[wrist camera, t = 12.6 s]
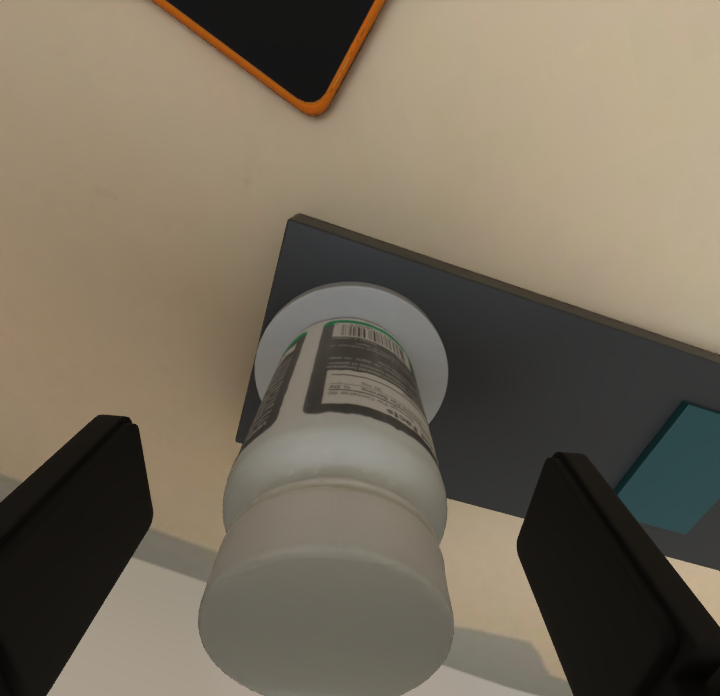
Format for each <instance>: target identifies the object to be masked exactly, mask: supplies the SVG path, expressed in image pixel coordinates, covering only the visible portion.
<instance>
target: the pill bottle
mask: <svg viewBox="0 0 720 696" xmlns="http://www.w3.org/2000/svg"><path fill="white" fill-rule="evenodd" d="M446 520H447V498H446V492H445V487H444V484H443V481H442V476H441V472H440V469H439V465H438V460H437V457H436V453H435V449H434V445H433V441H432V438H431V434H430V430H429V425H428V422H427V418H426V415H425V412H424V408H423V405H422V401H421V397H420V393H419V389H418V386H417V381H416V377H415V373H414V370H413V367H412V364H411V361H410V359H409V357H408V355H407V353H406V351H405V350H404V348H403V346H402V345H401V344H400V343H399V341H398V340H397V339H396V338H395V337H394V336H393V335H391V334H390V333H389V332H388V331H386V330H385V329H383V328H381V327H379V326H377V325H375V324H372V323H370V322H367V321H363V320H360V319H353V318H339V319H332V320H327V321H323V322H320V323H317V324H315V325H313V326H311V327H309V328H307V329H306V330H304V331H303V332H301V333H300V334H299V335H298V336H297V337H295V338H294V340H293V341H292V342H291V343H290V344H289V345H288V347H287V348H286V350H285V352H284V353H283V355H282V357H281V359H280V361H279V364H278V366H277V368H276V370H275V373H274V375H273V377H272V379H271V381H270V384H269V386H268V388H267V390H266V392H265V395H264V397H263V400H262V402H261V404H260V406H259V409H258V411H257V414H256V416H255V418H254V421H253V423H252V425H251V427H250V429H249V432H248V434H247V436H246V438H245V440H244V442H243V445H242V447H241V450H240V452H239V454H238V456H237V458H236V460H235V462H234V464H233V466H232V469H231V471H230V474H229V476H228V479H227V484H226V487H225V492H224V498H223V521H224V526H225V530H226V533H227V534H226V536H225V538H224V540H223V542H222V544H221V546H220V549H219V552H218V555H217V558H216V561H215V564H214V567H213V570H212V572H211V575H210V577H209V580H208V582H207V585H206V588H205V591H204V594H203V597H202V600H201V604H200V608H199V616H198V627H199V634H200V637H201V640H202V644H203V646H204V648H205V650H206V652H207V653H208V655H209V656H210V658H211V659H212V661H213V662H214V663H215V664H216V665H217V666H218V667H219V668H220V669H221V670H222V671H223V672H224V673H225V674H227V675H228V676H229V677H230V678H232V679H233V680H235V681H236V682H238V683H239V684H241V685H243V686H245V687H247V688H248V689H250V690H252V691H255V692H257V693H259V694H261V695H264V696H399V695H402V694H404V693H406V692H408V691H410V690H412V689H414V688H416V687H417V686H419V685H421V684H422V683H423V682H424V681H426V680H427V679H429V677H431V675H433V674H434V673H435V672H436V671H437V670H438V668H439V667H440V666H441V665H442V663H443V662H444V660H445V659H446V657H447V655H448V653H449V651H450V648H451V644H452V640H453V634H454V621H453V612H452V607H451V602H450V598H449V593H448V588H447V582H446V576H445V567H444V560H443V556H442V553H441V550H440V548H439V544H440V542H441V540H442V537H443V534H444V530H445V526H446Z"/></svg>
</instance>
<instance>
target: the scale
mask: <svg viewBox="0 0 720 696" xmlns="http://www.w3.org/2000/svg"><path fill="white" fill-rule="evenodd" d="M339 318H353V319H360V320H363V321H367V322H370V323H372V324H375V325H377V326H379V327H381V328H383V329H385V330H386V331H388V332H389V333H390V334H391V335H393V336H394V337H395V338H396V339H397V340H398V341H399V343H400V344H401V345H402V346H403V348H404V350H405V351H406V353H407V355H408V357H409V359H410V361H411V364H412V367H413V370H414V373H415V377H416V381H417V386H418V389H419V393H420V397H421V401H422V405H423V408H424V412H425V415H426V418H427V422H428V425H429V430H430V434H431V438H432V441H433V445H434V449H435V453H436V457H437V460H438V465H439V469H440V472H441V476H442V481H443V484H444V487H445V492H446V498H449V499H453V500H456V501H460V502H464V503H468V504H471V505H475V506H479V507H483V508H486V509H490V510H494V511H498V512H501V513H505V514H509V515H513V516H516V517H520V518H524V519H525V516H526V513H527V510H528V508H529V505H530V502H531V499H532V496H533V493H534V491H535V488H536V485H537V482H538V479H539V477H540V474H541V471H542V468H543V465H544V462H545V460H546V459H547V458H552V456H553V454H555V453H556V452H568V453H580V454H584V455H586V456H587V457H588V458H589V460H590V461H591V462H592V463H593V465H594V466H595V467H596V469H597V470H598V471H599V472H600V474H601V475H602V476H603V478H604V479H605V480H606V481H607V483H608V484H609V485H610V487H611V488H612V489H613V490H614V492H615V493H616V494H617V496H618V497H619V498H620V499H621V501H622V502H623V503H624V505H625V506H626V507H627V508H628V510H629V511H630V512H631V514H632V515H633V516H634V517H635V519H636V520H637V521H638V523H639V524H640V525H641V526H642V528H643V529H644V530H645V532H646V533H647V534H648V536H649V537H650V538H651V539H652V541H653V542H654V543H655V545H656V546H657V547H658V548H659V550H660V551H661V552H662V554H663V555H664V556H667V557H670V558H674V559H678V560H682V561H685V562H689V563H693V564H697V565H700V566H704V567H708V568H712V569H716V570H719V571H720V355H718V354H715V353H712V352H709V351H706V350H703V349H700V348H697V347H694V346H691V345H688V344H685V343H682V342H679V341H676V340H673V339H670V338H667V337H664V336H661V335H659V334H656V333H653V332H650V331H647V330H644V329H641V328H638V327H635V326H632V325H629V324H626V323H623V322H620V321H617V320H614V319H611V318H608V317H605V316H602V315H599V314H596V313H593V312H590V311H587V310H585V309H582V308H579V307H576V306H573V305H570V304H567V303H564V302H561V301H558V300H555V299H552V298H549V297H546V296H543V295H540V294H537V293H534V292H531V291H528V290H525V289H522V288H519V287H516V286H514V285H511V284H508V283H505V282H502V281H499V280H496V279H493V278H490V277H487V276H484V275H481V274H478V273H475V272H472V271H469V270H466V269H463V268H460V267H457V266H454V265H451V264H448V263H445V262H443V261H440V260H437V259H434V258H431V257H428V256H425V255H422V254H419V253H416V252H413V251H410V250H407V249H404V248H401V247H398V246H395V245H392V244H389V243H386V242H383V241H380V240H377V239H374V238H371V237H369V236H366V235H363V234H360V233H357V232H354V231H351V230H348V229H345V228H342V227H339V226H336V225H333V224H330V223H327V222H324V221H321V220H318V219H315V218H312V217H309V216H306V215H303V214H300V213H299V214H297V215H295V216H293V217H291V218H290V219H288V221H287V225H286V229H285V233H284V238H283V242H282V246H281V250H280V254H279V259H278V263H277V267H276V271H275V275H274V280H273V284H272V288H271V292H270V296H269V301H268V305H267V309H266V313H265V317H264V322H263V326H262V330H261V334H260V339H259V343H258V347H257V351H256V355H255V360H254V364H253V368H252V372H251V376H250V381H249V385H248V389H247V393H246V397H245V402H244V406H243V410H242V414H241V418H240V423H239V427H238V431H237V435H236V442H238V443H242V444H243V442H244V440H245V438H246V436H247V434H248V432H249V429H250V427H251V425H252V423H253V421H254V418H255V416H256V414H257V411H258V409H259V406H260V404H261V402H262V400H263V397H264V395H265V392H266V390H267V388H268V386H269V384H270V381H271V379H272V377H273V375H274V373H275V370H276V368H277V366H278V364H279V361H280V359H281V357H282V355H283V353H284V352H285V350H286V348H287V347H288V345H289V344H290V343H291V342H292V341H293V340H294V338H295V337H297V336H298V335H299V334H300V333H301V332H303V331H304V330H306V329H307V328H309V327H311V326H313V325H315V324H317V323H320V322H323V321H327V320H332V319H339Z"/></svg>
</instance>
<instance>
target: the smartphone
mask: <svg viewBox="0 0 720 696" xmlns="http://www.w3.org/2000/svg"><path fill="white" fill-rule="evenodd" d="M152 1H153V2H155V3H156V4H158V5H159V6H160V7H162V8H163V9H164V10H166V11H167V12H168V13H170V14H171V15H172V16H174V17H175V18H176V19H178V20H179V21H180V22H182V23H183V24H184V25H186V26H187V27H189V28H190V29H191V30H193V31H194V32H195V33H197V34H198V35H199V36H201V37H202V38H203V39H205V40H206V41H207V42H209V43H210V44H211V45H213V46H214V47H215V48H217V49H218V50H219V51H221V52H222V53H224V54H225V55H226V56H228V57H229V58H230V59H232V60H233V61H234V62H236V63H237V64H238V65H240V66H241V67H242V68H244V69H245V70H246V71H248V72H249V73H250V74H252V75H253V76H255V77H256V78H257V79H259V80H260V81H261V82H263V83H264V84H265V85H267V86H268V87H269V88H271V89H272V90H273V91H275V92H276V93H277V94H279V95H280V96H281V97H283V98H284V99H285V100H287V101H288V102H290V103H291V104H292V105H294V106H295V107H296V108H298V109H299V110H300V111H302V112H303V113H306V114H308V115H319V114H321V113H323V112H324V111H325V110H326V109H327V108H328V107H329V105H330V104H331V102H332V100H333V98H334V96H335V95H336V93H337V91H338V89H339V87H340V85H341V83H342V82H343V80H344V78H345V76H346V74H347V72H348V71H349V69H350V67H351V65H352V63H353V61H354V60H355V58H356V56H357V54H358V52H359V50H360V48H361V47H362V45H363V43H364V41H365V39H366V37H367V36H368V34H369V32H370V30H371V28H372V26H373V24H374V23H375V21H376V18H377V15H378V13H379V11H380V9H381V8H382V6H383V4H384V2H385V0H152Z"/></svg>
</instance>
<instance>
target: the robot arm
mask: <svg viewBox="0 0 720 696" xmlns="http://www.w3.org/2000/svg"><path fill="white" fill-rule="evenodd" d="M152 518H153V507H152V502H151V496H150V490H149V484H148V479H147V473H146V467H145V461H144V456H143V450H142V444H141V438H140V433H139V428H138V426H137V425H136V424H132V421H131V419H130V418H129V417H126V416H114V415H98V416H97V417H95V418H94V419H93V420H92V421H91V422H89V423H88V424H87V425H86V426H85V427H84V428H83V429H82V430H81V431H79V432H78V433H77V434H76V435H75V436H74V437H73V438H72V439H71V440H69V441H68V442H67V443H66V444H65V445H64V446H63V447H62V448H61V449H59V450H58V451H57V452H56V453H55V454H54V455H53V456H52V457H51V458H49V459H48V460H47V461H46V462H45V463H44V464H43V465H42V466H41V467H39V468H38V469H37V470H36V471H35V472H34V473H33V474H32V475H31V476H29V477H28V478H27V479H26V480H25V481H24V482H23V483H22V484H21V485H19V486H18V487H17V488H16V489H15V490H14V491H13V492H12V493H11V494H9V495H8V496H7V497H6V498H5V499H4V500H3V501H2V502H1V503H0V696H46V695H47V694H48V692H49V691H50V689H51V688H52V686H53V684H54V683H55V681H56V679H57V678H58V676H59V674H60V673H61V671H62V670H63V668H64V666H65V665H66V663H67V662H68V660H69V658H70V657H71V655H72V653H73V652H74V650H75V648H76V647H77V645H78V643H79V642H80V640H81V638H82V637H83V635H84V634H85V632H86V630H87V629H88V627H89V625H90V624H91V622H92V620H93V619H94V617H95V616H96V614H97V612H98V611H99V609H100V608H101V606H102V604H103V603H104V601H105V599H106V598H107V596H108V594H109V593H110V591H111V590H112V588H113V586H114V585H115V583H116V581H117V580H118V578H119V577H120V575H121V573H122V572H123V570H124V568H125V567H126V565H127V564H128V562H129V560H130V559H131V557H132V555H133V554H134V552H135V550H136V549H137V547H138V546H139V544H140V542H141V541H142V539H143V537H144V536H145V534H146V532H147V531H148V529H149V527H150V525H151V522H152ZM517 552H518V556H519V559H520V561H521V564H522V566H523V569H524V571H525V574H526V577H527V579H528V582H529V584H530V587H531V589H532V592H533V594H534V597H535V599H536V602H537V604H538V607H539V609H540V612H541V614H542V617H543V619H544V622H545V625H546V627H547V630H548V632H549V635H550V637H551V640H552V642H553V645H554V647H555V650H556V652H557V655H558V657H559V660H560V662H561V665H562V667H563V670H564V672H565V675H566V678H567V680H568V683H569V685H570V688H571V690H572V693H573V695H574V696H720V627H719V626H718V624H717V623H716V622H715V620H714V619H713V618H712V617H711V615H710V614H709V613H708V611H707V610H706V609H705V608H704V606H703V605H702V604H701V602H700V601H699V600H698V599H697V597H696V596H695V595H694V593H693V592H692V591H691V590H690V588H689V587H688V586H687V584H686V583H685V582H684V581H683V579H682V578H681V577H680V575H679V574H678V573H677V572H676V570H675V569H674V568H673V566H672V565H671V564H670V563H669V561H668V560H667V559H666V557H665V556H664V555H663V554H662V552H661V551H660V550H659V548H658V547H657V546H656V545H655V543H654V542H653V541H652V539H651V538H650V537H649V536H648V534H647V533H646V532H645V530H644V529H643V528H642V526H641V525H640V524H639V523H638V521H637V520H636V519H635V517H634V516H633V515H632V514H631V512H630V511H629V510H628V508H627V507H626V506H625V505H624V503H623V502H622V501H621V499H620V498H619V497H618V496H617V494H616V493H615V492H614V490H613V489H612V488H611V487H610V485H609V484H608V483H607V481H606V480H605V479H604V478H603V476H602V475H601V474H600V472H599V471H598V470H597V469H596V467H595V466H594V465H593V463H592V462H591V461H590V460H589V458H588V457H587V456H586V455H584V454H580V453H568V452H556V453H555V454H553V456H552V458H547V459H546V460H545V462H544V465H543V468H542V471H541V474H540V477H539V479H538V482H537V485H536V488H535V491H534V493H533V496H532V499H531V502H530V505H529V508H528V510H527V513H526V516H525V519H524V522H523V525H522V527H521V530H520V533H519V536H518V539H517Z"/></svg>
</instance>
